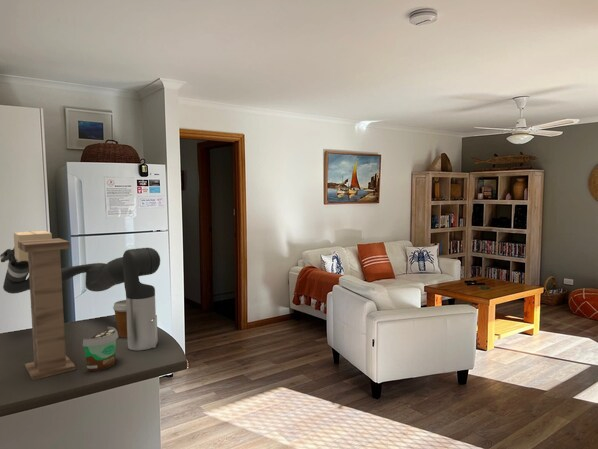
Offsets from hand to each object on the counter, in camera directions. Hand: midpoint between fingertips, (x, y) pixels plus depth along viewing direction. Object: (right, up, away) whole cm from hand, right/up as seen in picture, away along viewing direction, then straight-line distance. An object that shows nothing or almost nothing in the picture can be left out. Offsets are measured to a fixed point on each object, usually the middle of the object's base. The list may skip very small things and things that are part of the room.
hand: (26, 246), depth 151 cm
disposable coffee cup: (+31, -33, +10) cm, 46 cm away
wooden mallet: (+4, -3, -4) cm, 7 cm away
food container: (+35, -35, -17) cm, 53 cm away
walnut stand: (+19, -35, -19) cm, 45 cm away
